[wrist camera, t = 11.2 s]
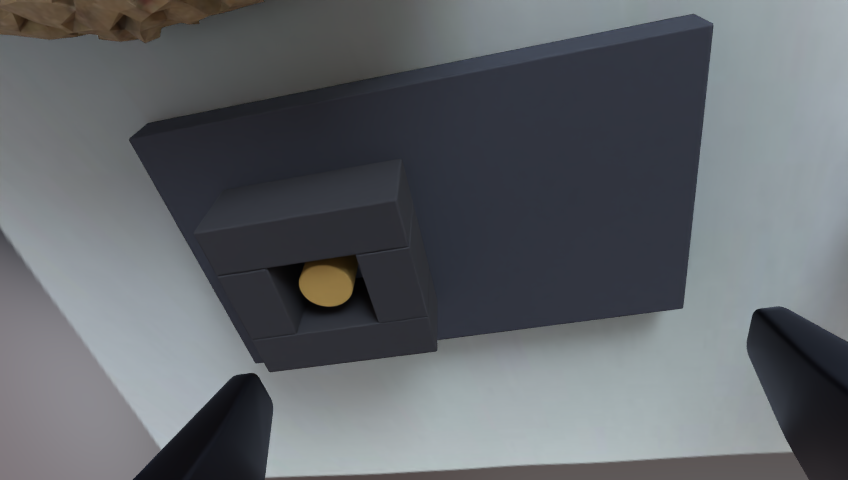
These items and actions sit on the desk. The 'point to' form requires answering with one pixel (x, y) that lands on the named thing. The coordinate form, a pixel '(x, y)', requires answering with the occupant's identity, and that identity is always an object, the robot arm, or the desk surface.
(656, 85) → the base pad
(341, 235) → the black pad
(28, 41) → the desk surface
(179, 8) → the sponge
